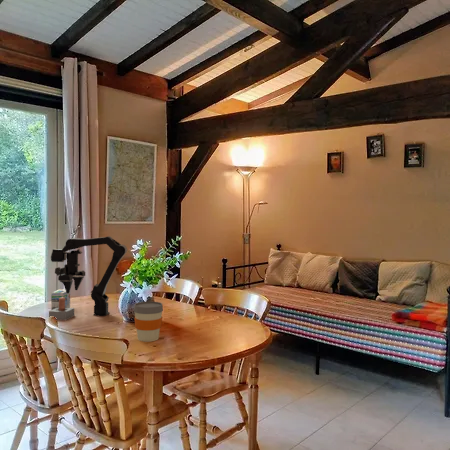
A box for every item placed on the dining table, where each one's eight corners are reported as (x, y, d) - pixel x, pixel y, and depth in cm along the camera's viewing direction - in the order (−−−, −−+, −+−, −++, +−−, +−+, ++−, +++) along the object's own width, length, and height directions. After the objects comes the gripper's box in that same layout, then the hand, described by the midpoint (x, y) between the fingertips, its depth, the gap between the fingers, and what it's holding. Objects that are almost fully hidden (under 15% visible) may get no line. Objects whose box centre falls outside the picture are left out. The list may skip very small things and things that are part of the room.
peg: (66, 316, 224) (66, 297, 224) (63, 318, 221) (63, 298, 221) (60, 316, 225) (60, 297, 224) (57, 317, 222) (57, 298, 221)
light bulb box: (63, 312, 233) (63, 292, 232) (50, 312, 233) (50, 292, 232) (70, 308, 243) (70, 289, 243) (58, 308, 243) (58, 288, 243)
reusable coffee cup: (128, 337, 191) (128, 303, 191) (154, 332, 199) (154, 300, 198) (141, 344, 181) (142, 308, 181) (167, 339, 189) (168, 305, 188)
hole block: (74, 315, 227) (74, 308, 227) (65, 320, 218) (65, 312, 218) (58, 314, 228) (58, 307, 228) (48, 319, 219) (48, 311, 219)
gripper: (66, 259, 239) (66, 287, 239) (48, 263, 220) (48, 294, 221) (85, 260, 237) (85, 288, 238) (69, 264, 219) (69, 295, 220)
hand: (72, 291), depth 229 cm, fingers open, 9 cm apart
